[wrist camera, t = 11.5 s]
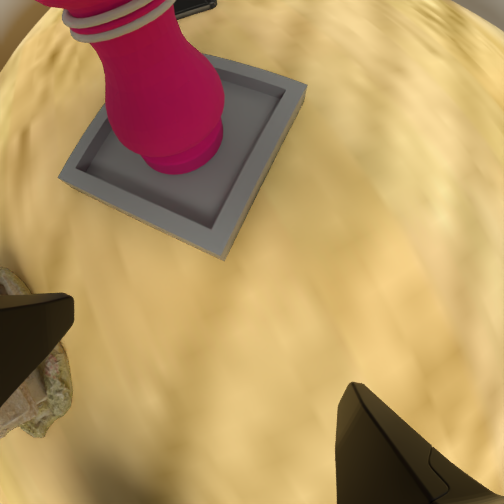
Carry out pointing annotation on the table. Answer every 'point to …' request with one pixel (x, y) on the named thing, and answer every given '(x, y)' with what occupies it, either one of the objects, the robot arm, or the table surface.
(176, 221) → the grey tray
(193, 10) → the phone
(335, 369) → the table surface
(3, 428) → the ceramic model
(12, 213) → the table surface
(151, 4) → the pepper mill
